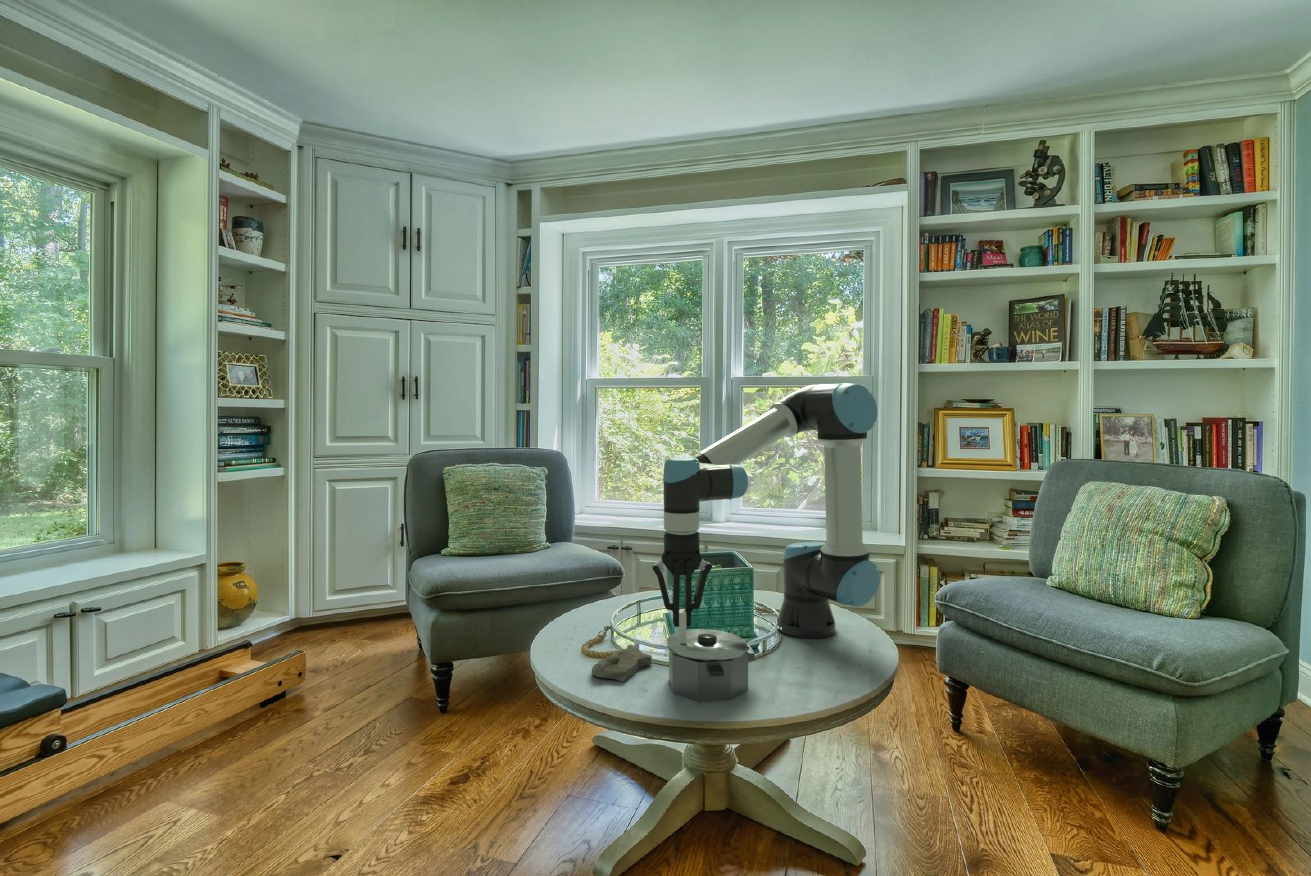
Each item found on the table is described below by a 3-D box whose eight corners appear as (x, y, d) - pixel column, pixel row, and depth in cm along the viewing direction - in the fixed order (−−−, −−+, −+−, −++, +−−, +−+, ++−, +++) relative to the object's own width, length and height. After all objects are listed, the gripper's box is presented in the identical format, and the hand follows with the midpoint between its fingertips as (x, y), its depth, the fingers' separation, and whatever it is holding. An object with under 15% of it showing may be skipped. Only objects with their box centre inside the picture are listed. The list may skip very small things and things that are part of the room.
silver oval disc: (737, 632, 154) (738, 624, 154) (756, 660, 137) (756, 651, 137) (663, 632, 152) (663, 623, 152) (672, 661, 135) (672, 651, 135)
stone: (622, 656, 162) (622, 639, 162) (656, 664, 157) (656, 647, 157) (583, 677, 150) (583, 659, 149) (619, 687, 145) (619, 668, 144)
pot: (741, 663, 156) (741, 629, 156) (764, 703, 135) (764, 664, 135) (665, 666, 155) (665, 632, 154) (677, 707, 134) (676, 668, 133)
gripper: (708, 527, 147) (709, 634, 148) (649, 528, 146) (650, 636, 147) (715, 533, 140) (715, 646, 141) (652, 535, 138) (653, 648, 140)
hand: (682, 641), depth 144 cm, fingers closed
